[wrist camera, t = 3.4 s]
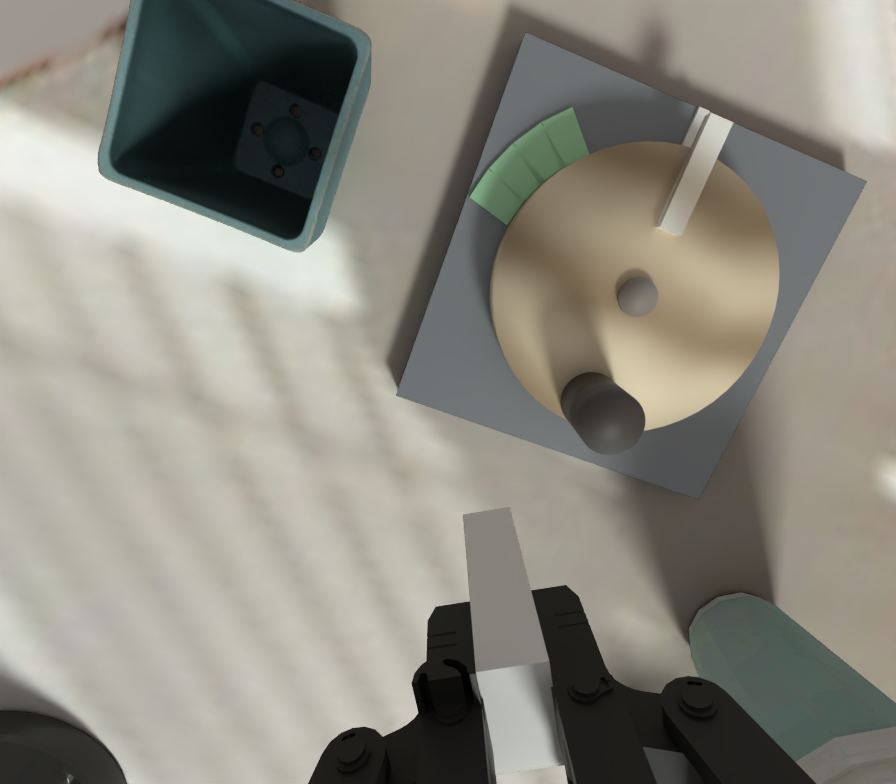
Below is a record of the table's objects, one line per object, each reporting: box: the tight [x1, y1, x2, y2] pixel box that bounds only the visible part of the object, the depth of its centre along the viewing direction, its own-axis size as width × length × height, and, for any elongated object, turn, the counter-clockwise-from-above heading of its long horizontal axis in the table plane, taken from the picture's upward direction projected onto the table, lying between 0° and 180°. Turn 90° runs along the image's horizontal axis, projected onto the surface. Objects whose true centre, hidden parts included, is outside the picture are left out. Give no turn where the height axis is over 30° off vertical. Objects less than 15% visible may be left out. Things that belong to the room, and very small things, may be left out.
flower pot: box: [98, 0, 372, 252], centre depth 26 cm, size 9×9×9 cm
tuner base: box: [396, 33, 867, 499], centre depth 32 cm, size 20×20×2 cm
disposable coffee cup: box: [689, 592, 896, 784], centre depth 32 cm, size 11×11×15 cm
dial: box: [489, 113, 780, 455], centre depth 28 cm, size 17×15×6 cm
